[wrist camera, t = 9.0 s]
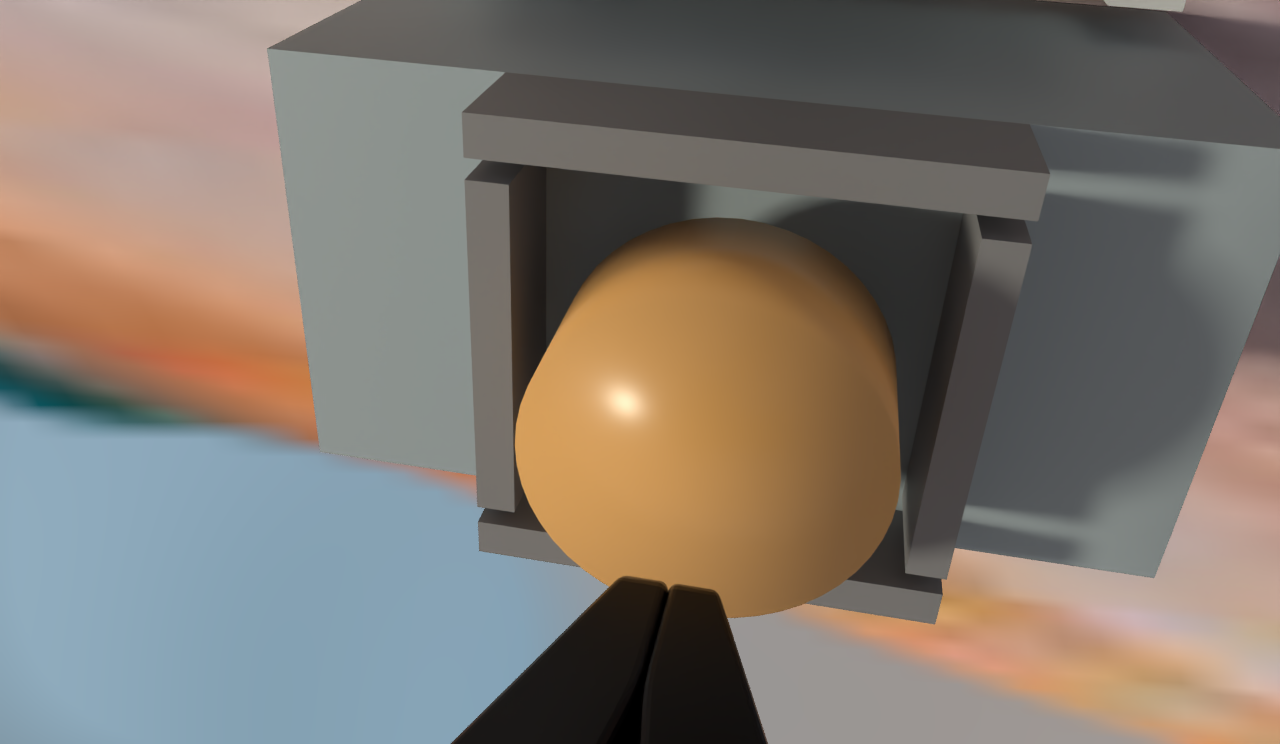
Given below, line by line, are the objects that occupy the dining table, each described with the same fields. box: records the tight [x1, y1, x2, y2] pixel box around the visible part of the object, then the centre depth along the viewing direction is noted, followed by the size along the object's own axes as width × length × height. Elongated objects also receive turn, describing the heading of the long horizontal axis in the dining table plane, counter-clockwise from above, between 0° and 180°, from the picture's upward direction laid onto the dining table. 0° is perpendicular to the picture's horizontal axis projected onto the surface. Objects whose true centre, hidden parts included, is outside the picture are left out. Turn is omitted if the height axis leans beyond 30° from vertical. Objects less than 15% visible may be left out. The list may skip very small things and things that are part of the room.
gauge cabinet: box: [267, 0, 1280, 624], centre depth 16 cm, size 12×6×9 cm, turn 88°
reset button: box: [515, 217, 901, 618], centre depth 12 cm, size 4×4×2 cm
